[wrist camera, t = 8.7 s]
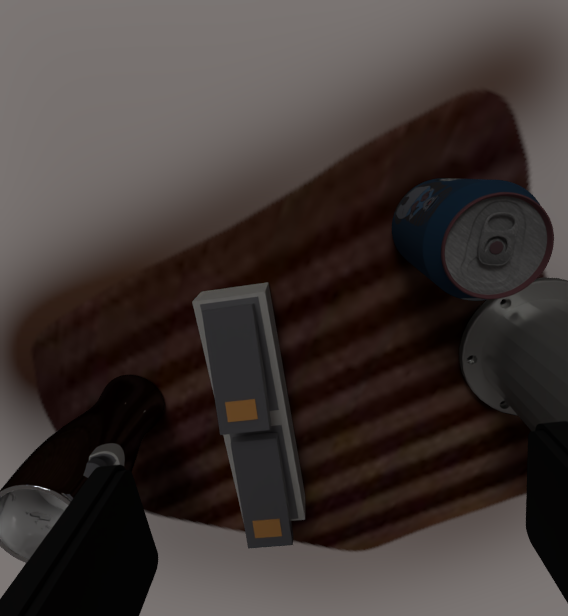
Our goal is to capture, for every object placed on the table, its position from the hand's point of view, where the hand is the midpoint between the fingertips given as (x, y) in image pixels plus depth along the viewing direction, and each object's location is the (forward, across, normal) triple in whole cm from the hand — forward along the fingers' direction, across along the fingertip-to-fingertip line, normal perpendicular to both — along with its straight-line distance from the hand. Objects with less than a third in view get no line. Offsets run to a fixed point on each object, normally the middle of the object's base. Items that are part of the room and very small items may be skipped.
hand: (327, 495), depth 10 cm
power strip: (+26, +7, +12) cm, 30 cm away
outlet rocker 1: (+21, +7, +6) cm, 23 cm away
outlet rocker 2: (+21, +7, +18) cm, 29 cm away
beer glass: (+26, +19, +11) cm, 34 cm away
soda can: (+26, -10, -2) cm, 28 cm away
